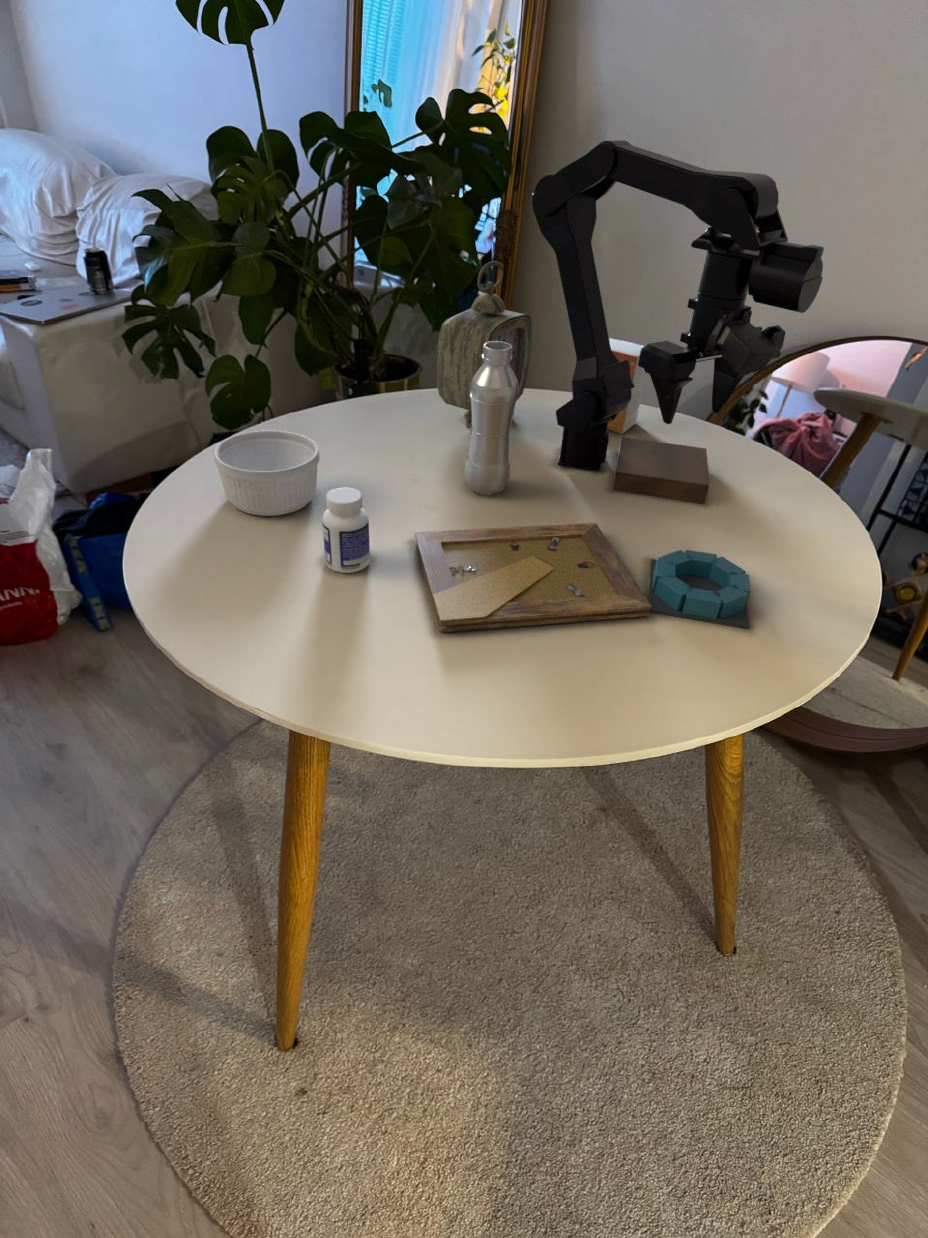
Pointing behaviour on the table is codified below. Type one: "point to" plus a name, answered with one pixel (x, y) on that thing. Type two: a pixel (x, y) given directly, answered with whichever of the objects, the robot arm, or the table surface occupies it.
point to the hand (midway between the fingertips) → (691, 417)
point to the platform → (662, 470)
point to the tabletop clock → (480, 344)
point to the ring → (698, 599)
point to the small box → (637, 375)
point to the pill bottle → (345, 531)
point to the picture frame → (525, 577)
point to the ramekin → (268, 471)
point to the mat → (663, 608)
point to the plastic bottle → (491, 420)
